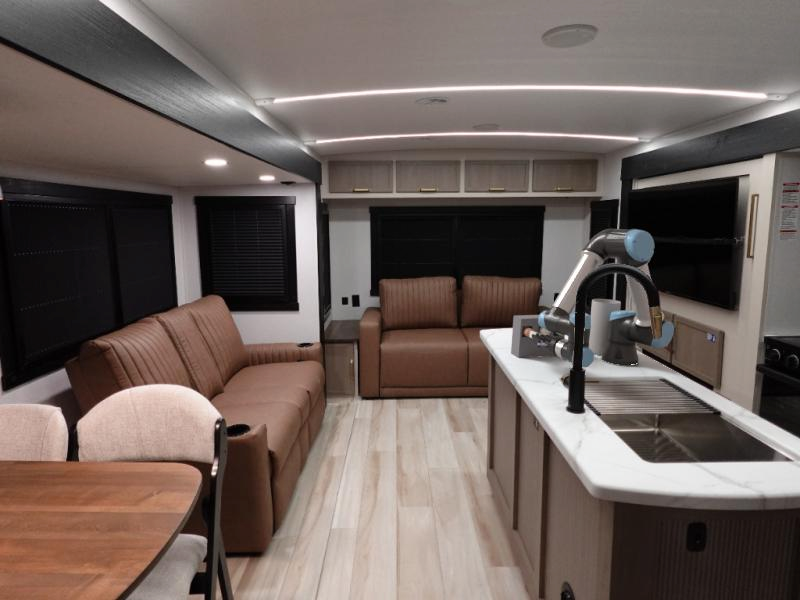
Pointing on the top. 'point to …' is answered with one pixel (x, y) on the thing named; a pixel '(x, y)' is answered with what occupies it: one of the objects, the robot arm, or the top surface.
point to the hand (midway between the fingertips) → (531, 333)
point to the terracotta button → (527, 331)
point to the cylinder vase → (601, 323)
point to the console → (527, 338)
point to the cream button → (543, 331)
